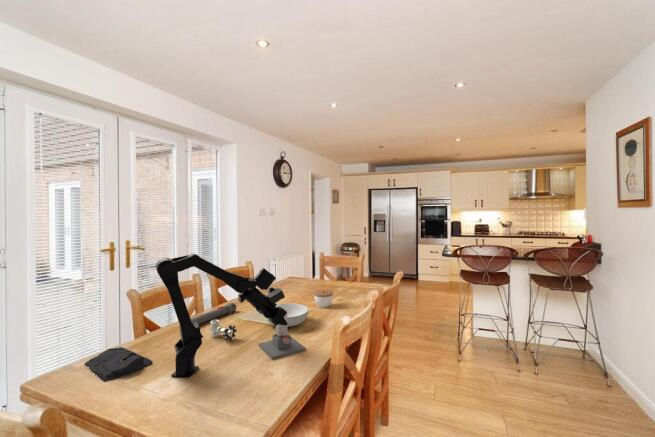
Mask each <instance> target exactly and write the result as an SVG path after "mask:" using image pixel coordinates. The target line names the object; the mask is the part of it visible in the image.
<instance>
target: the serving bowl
mask: <svg viewBox="0 0 655 437" xmlns="http://www.w3.org/2000/svg"><path fill="white" fill-rule="evenodd" d="M276 304H277V303H276ZM277 307H281V308H284V309H285V310H287V323H288V324H287V325H288V327H289V328H290V327H295V326H298V325H300V324H302V323H303V322H304V321H305V320H306V319H307V317H308V314H309V308H308V307H307V306H306V305H303V304H301V303H294V302H293V303H292V302H290V303H285V302H284V303H278V304H277V305H276V308H277ZM265 319H266V321H267V322H268V323H270V324H271V325H272V326H275V325H274V324H273V323H272V322H270V321H269V319H268V318H265Z"/></svg>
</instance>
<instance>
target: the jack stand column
mask: <svg viewBox="0 0 655 437" xmlns="http://www.w3.org/2000/svg"><path fill="white" fill-rule="evenodd" d="M283 309H284V308H283ZM284 310H285V309H284ZM285 311H287V310H285ZM284 318H285V320H286V322H287V314H286V315H285V316H284ZM288 330H289V329H288V325H286V326H284V325H280V324H278V325H277V326H275V334H276V337H278V338H283V337H287V336H288V334H289V333H288Z"/></svg>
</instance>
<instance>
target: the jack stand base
mask: <svg viewBox="0 0 655 437" xmlns="http://www.w3.org/2000/svg"><path fill="white" fill-rule="evenodd" d="M258 346H259V348H260V349H261V350H262V351H263V352H264V353H265V355H267V356H268V357H269V358H270V359H271V360H275V359H279V358H283V357H287V356H291V355H293V354H297V353H300V352H305V351H306V350H307V348H306V347H305V346H304V345H303V344H302V343H300V342H299V341H297V340H296V339H295V338H294V337H292V335H290V334H289V333H288V336H287V337H283V338H278V337H276V333H274V334H272V339H271V340H267V341H263V342H259V343H258Z"/></svg>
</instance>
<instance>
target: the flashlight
mask: <svg viewBox="0 0 655 437" xmlns="http://www.w3.org/2000/svg"><path fill="white" fill-rule="evenodd" d="M235 311H237V304H236V303H235V302H232V301H231V302H230V303H227V304H225V305H224V306H219V307H217V308H216V309H213V310H210V311H207V312H205V313H202V314H199V315H197V316H194V317H190V319H191V321H192V323H195V322H197V323H198V325H199V326H200V325H201V324H204V323H206V322H208V321H212V320H215V319H216V318H219V317H221V316H224V315H226V314H232V313H234V312H235Z"/></svg>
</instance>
